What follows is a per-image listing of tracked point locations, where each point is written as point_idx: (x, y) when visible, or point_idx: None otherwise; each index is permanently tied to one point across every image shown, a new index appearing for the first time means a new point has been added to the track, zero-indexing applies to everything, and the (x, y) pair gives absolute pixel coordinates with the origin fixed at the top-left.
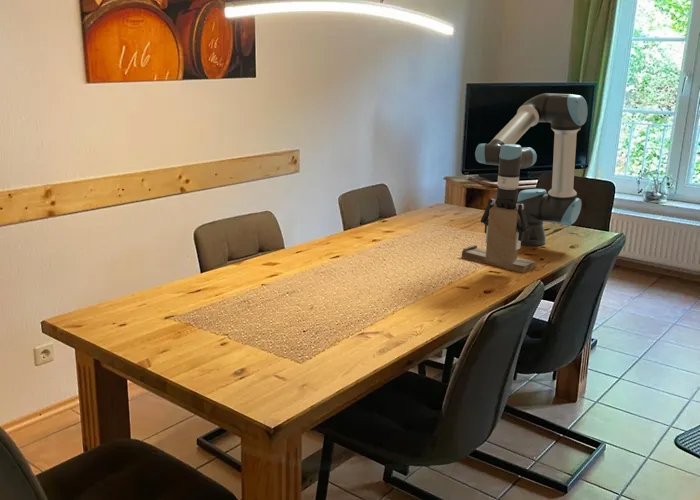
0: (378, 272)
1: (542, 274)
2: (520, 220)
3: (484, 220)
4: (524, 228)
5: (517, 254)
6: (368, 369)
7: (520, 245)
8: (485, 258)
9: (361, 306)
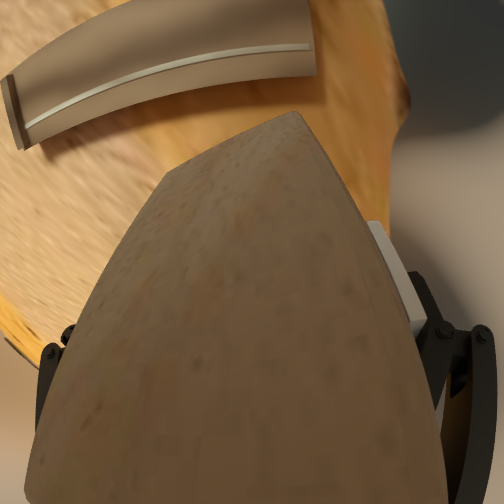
0: None
1: (380, 39)
2: None
3: None
4: (460, 377)
5: (304, 120)
6: None
7: (385, 232)
8: (105, 113)
9: None
